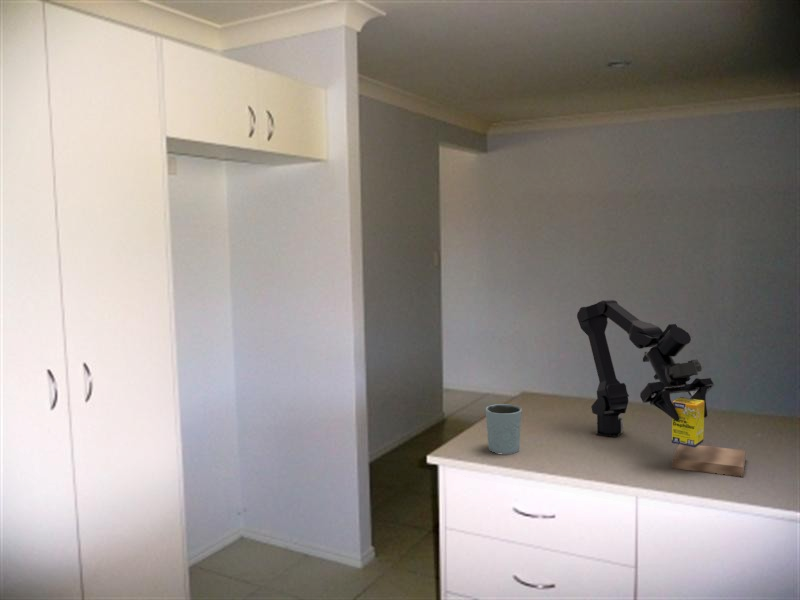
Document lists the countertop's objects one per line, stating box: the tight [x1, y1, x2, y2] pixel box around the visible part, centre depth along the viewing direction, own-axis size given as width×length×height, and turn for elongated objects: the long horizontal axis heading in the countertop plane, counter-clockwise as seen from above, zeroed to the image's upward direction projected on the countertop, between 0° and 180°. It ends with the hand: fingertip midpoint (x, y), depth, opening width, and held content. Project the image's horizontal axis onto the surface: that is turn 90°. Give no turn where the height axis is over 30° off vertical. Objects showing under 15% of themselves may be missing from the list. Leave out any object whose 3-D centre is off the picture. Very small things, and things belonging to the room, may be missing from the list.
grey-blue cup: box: [485, 403, 523, 455], centre depth 190 cm, size 10×10×12 cm
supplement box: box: [671, 396, 705, 448], centre depth 170 cm, size 6×6×11 cm
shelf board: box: [671, 444, 747, 478], centre depth 173 cm, size 16×14×2 cm
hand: (692, 418), depth 169 cm, fingers closed on supplement box, 8 cm apart
